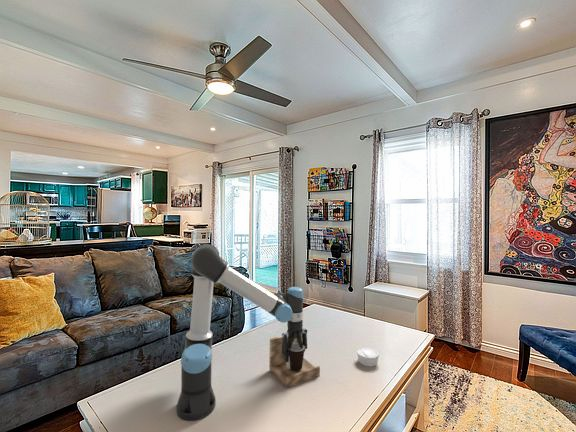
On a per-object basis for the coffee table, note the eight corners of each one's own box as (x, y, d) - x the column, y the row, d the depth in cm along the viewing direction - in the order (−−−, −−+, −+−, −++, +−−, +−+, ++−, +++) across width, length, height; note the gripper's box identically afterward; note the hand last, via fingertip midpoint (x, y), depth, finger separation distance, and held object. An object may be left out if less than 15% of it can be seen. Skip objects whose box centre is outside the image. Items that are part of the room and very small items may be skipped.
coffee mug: (303, 373, 135) (303, 352, 135) (285, 371, 136) (285, 350, 136) (306, 360, 146) (306, 340, 146) (289, 358, 148) (289, 339, 148)
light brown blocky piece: (286, 388, 129) (286, 353, 129) (269, 370, 143) (269, 338, 143) (319, 375, 139) (320, 343, 139) (300, 360, 153) (301, 330, 153)
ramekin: (353, 362, 152) (353, 352, 152) (363, 354, 160) (363, 345, 160) (372, 370, 144) (372, 360, 144) (382, 362, 152) (382, 352, 152)
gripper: (282, 326, 132) (281, 375, 132) (315, 318, 142) (314, 363, 143) (274, 320, 138) (273, 367, 139) (306, 313, 148) (306, 357, 149)
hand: (294, 365), depth 141 cm, fingers closed on coffee mug, 6 cm apart
